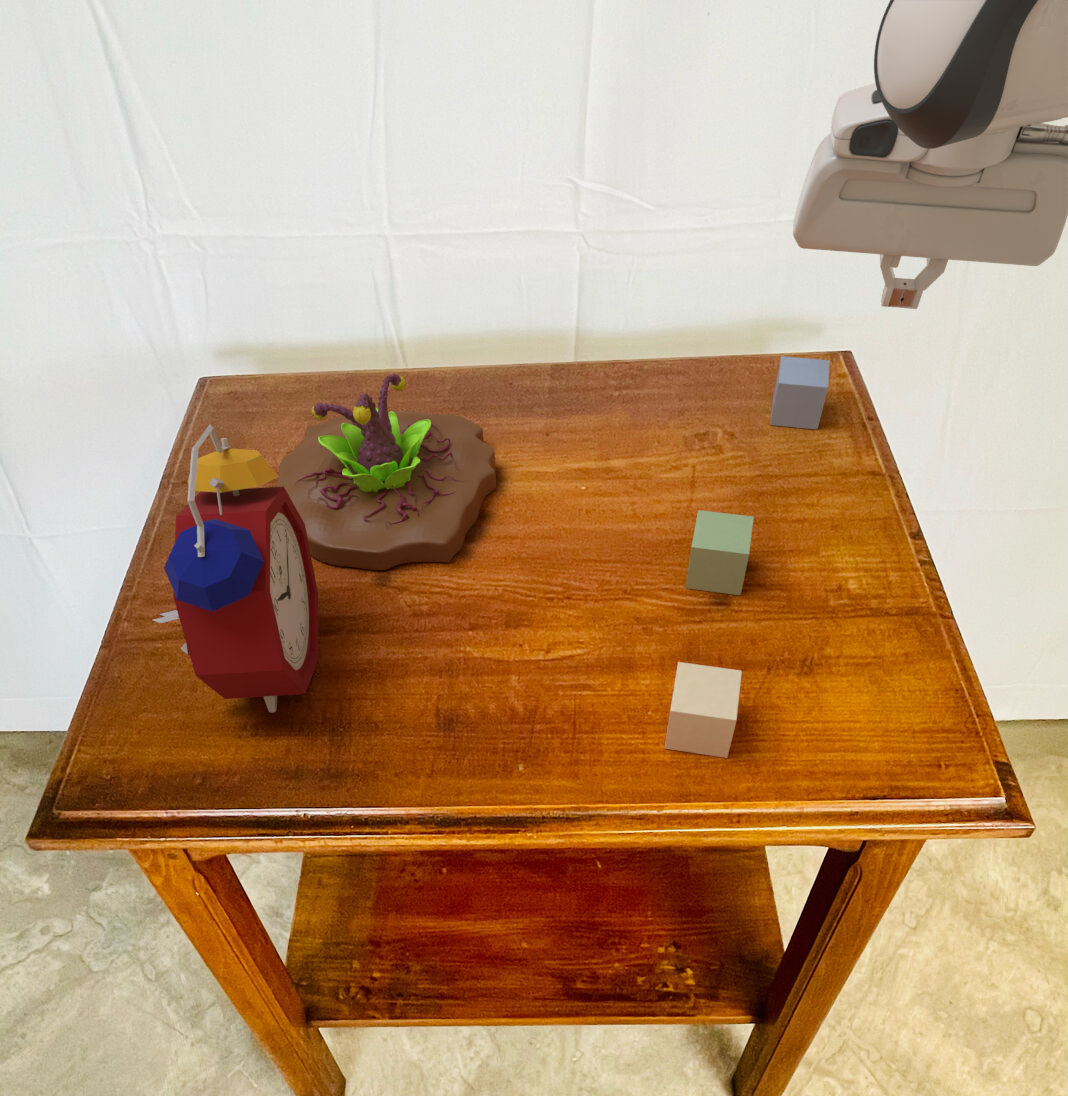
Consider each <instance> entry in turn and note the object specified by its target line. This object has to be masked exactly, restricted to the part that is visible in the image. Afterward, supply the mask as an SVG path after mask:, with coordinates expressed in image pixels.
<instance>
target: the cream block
mask: <svg viewBox="0 0 1068 1096" xmlns="http://www.w3.org/2000/svg"><path fill="white" fill-rule="evenodd" d="M742 675H743V671H742V670H740V669H733V668H725V667H718V666H711V665H703V664H697V663H690V662H682V661H678V662H677V666H676V671H675V678H674V683H673V689H672V690H673V691H672V697H671V702H670V709H669V716H668V722H667V730H666V735H665V736H666V737H665V741H664V742H665V743H664V749H666V750H672V751H678V752H684V753H690V754H697V755H705V756H711V757H717V758H722V759H723V758H724V759H728V757H729V754H730V753H729V752H730V750H731V745H732V741H733V737H734V734H735V729H736V725H737V721H738V712H739V703H740V694H741V684H742Z"/></svg>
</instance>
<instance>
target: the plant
mask: <svg viewBox="0 0 1068 1096" xmlns="http://www.w3.org/2000/svg"><path fill="white" fill-rule="evenodd" d="M382 382H383V383H382V384H381V389H380V390H379V393H380V394H379V396H378V403H377V406H376V403H375V402H374V401H373V397H372V396H369V394H368V393H367V392H365V393H362V394H360V396H359V397H358V398H357V400H356V403H354V404H355V405H354V406H353V410H351V409H349V408H347V407H346V406H342V405H340V404H338V405H337V404H334V403H330V404H329V403H322V402H317V403H315V404H314V405H313V406H312V407H311V415H312V416H313V417H314V419H316V420H317V421H323V420H325V419H326V418H327V416H328V412H334V413H336V414H338V415H341V416H338V417H333V418H331V419H328V420H326V421H324V422H322V423H318V424H316V425H315V424H314V425H312V426H308V427H307V428H305V430H304V439H303V440H302V442H301V443H300V444H299V445H298V446H296V448H294V449H292V451H290V452H288V453H286V454H285V455H284V456H283V457H282V458H281V461H280V463H279V470H278V476H279V477H277V482H276V486H275V487H282V486H284V488H285V489H286V491H287V493H288V495H289V497H290V498H291V500H292V502H293V504H294V506H295V507H296V509H297V511H298V513H299V515H300V516H301V518H302V520H303V522H304V524H305V528H306V533H307V538H308V544H309V549H310V554H311V557H312V558H313V559H315V560H317V561H319V562H323V563H325V564H329V565H331V566H335V567H336V566H337V567H343V568H344V567H345V568H357V569H361V570H371V571H385V570H389V569H391V568H395V567H396V566H400V565H403V564H409V563H446V564H449V563H450V562H451V560H452V559H453V557H454V556H455V555H456V554H458V552H460V551H461V550H462V547H463V546H464V541H465V539H466V536H467V533H468V532H469V530H470V529H472V527H473V526H474V525H475V524H476V522H477V520H478V517H479V515H480V510H481V507H482V503H483V501H484V499H485V498H486V497H487V496H489V494H490V493H492V492H494V491H495V490H497V478H496V477H497V476H496V475H497V474H496V454H495V453H496V452H495V449H494V447H492V446H491V445H489V444H488V443H486V442H484V441H485V440H484V430H483V428H482V427H481V426H480V425H478V424H477V423H475V422H474V421H472V420H470V419H468V418H466V417H463V416H460V415H456V414H445V413H429V412H428V413H427V412H420V411H419V412H418V411H409V410H388V408H389V407H388V395H389V394H388V392H389V386H390V385H391V388H392V389H393V390H395V391H397V392H402V391H404V390H405V389H406V386H407V382H406V379H405V378H404V376H400V374H398V373H393V374H389V375H386V377H384V379H383V380H382ZM377 407H378V408H377Z"/></svg>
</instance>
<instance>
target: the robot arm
mask: <svg viewBox="0 0 1068 1096" xmlns="http://www.w3.org/2000/svg"><path fill="white" fill-rule="evenodd" d="M873 73H874V75H873V76H874V82H875V83H871V84H868V85H865V86H861V87H857V88H854V89H849V90H847V91H845V92H844V93H842V94H841V95H840V96H839V97H838V99H837V100H836V103H835V106H834V109H833V112H832V116H831V123H830V124H831V126H830V133H829V134H828V135H826V136H825V137H824V138H823V139H822V140H821V142H820V143H819V144H818V146H817V148H815V149H816V150H815V151H814V154H813V156H812V157H811V160H810V163H809V166H808V168H807V172H806V174H805V177H804V180H803V183H802V186H801V190H800V193H799V196H798V201H797V205H796V207H795V208H796V209H795V214H794V219H793V223H792V224H793V225H792V235H793V238H794V240H795V243H796V244H797V246H798V247H799V248H800V249H804V250H805V249H806V250H816V251H817V250H819V251H832V252H844V253H857V254H869V255H872V254H873V255H879V267H880V271H881V274H882V278H883V281H884V287H883V290H882V294H881V299H880V301H881V304H880V305H881V307H884V308H885V307H886V308H899V309H908V310H917V309H918V308H919V304H920V302H921V299H922V296H923V293H924V291H926V290H927V289H928V288H929V287H930V286H932V284H933V283H934V282H936V280H937V279H939V277H941V276H942V275H943V274H944V273H945V270H946V267H947V265H948V262H949V261H962V262H975V263H988V264H999V265H1013V266H1029V267H1038V266H1041V265H1042V264H1043V263H1044V262H1046V261H1047V260H1048V259H1050V258H1051V257H1053V255H1054V254H1055V252H1056V250H1057V247H1058V246H1059V243H1060V240H1061V237H1062V235H1063V232H1064V229H1065V226H1066V222H1067V220H1068V124H1065V125H1064V126H1063V125H1053V124H1048V123H1049V122H1055V121H1059V120H1062V119H1066V118H1068V0H889V2H888V4H887V6H886V9H885V11H884V13H883V15H882V18H881V22H880V24H879V28H878V32H877V36H876V40H875V45H874V56H873ZM902 257H909V258H923V259H926V265H925V267H924V268H923V269H921V271H920V272H919V273H918V274H917V275H916V276H915V278H902V277H896V274H895V271H894V269H897V268H898V267H899V264H900V261H901V258H902Z"/></svg>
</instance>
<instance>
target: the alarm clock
mask: <svg viewBox="0 0 1068 1096" xmlns="http://www.w3.org/2000/svg"><path fill="white" fill-rule="evenodd" d="M208 436H209V437H210V440H211V442H212V444H213V446H214V449H215V451H213V452H210V453H207V454H205V455H203V456H200V457H199V449H200V447H201V446H202V444H203V443H204V442H205V440H207V438H208ZM220 442H221V443H220ZM189 463H190V464H189V476H188V478H187V482H186V483H187V485H188V488H187V501H186V502H187V504H186V506H184V507H183V508H182V509H181V510H180V511H179V512H178V513H177V515H175V531H174V532H173V533H172V534H173V535H174V544H173V547H172V549H171V551H170V553H169V555H168V557H167V560H166V562H165V564H164V565H163V569H164V571H165V574H166V576H167V579H168V581H169V583H170V586H171V588H172V590H173V591H172V592H173V594H172V597H173V600H174V604H175V608H176V609H174V610H171V611H167V612H162V613H159V614H158V615H159V616H161V617H158V618H154V619H152V621H153V622H156V623H159V624H163V623H167V622H170V621H175V620H179V622H180V626H181V629H182V633H183V637H184V639H185V643H184V644H183V645H182V646H181V648H180V650H181V651H183V652H184V653H185V654H186V655H187V656H189V658H190V660H191V661H190V662H191V664H192V668H193V671H194V675H195V676H196V677H197V678H198V679H199V680H201V681H202V682H203V683H204V684H206V685H207V686H208V687H209V688H210V689H212V690H213V691H214V692H215V693H217V694H218V695H219V696H220V697H221V698H223V699H224V700H229V699H247V698H263V700H264V703H265V705H266V708H267V711H268V713H271V714H272V713H275V712H277V711H278V696H279V697H280V696H282V697H283V696H295V695H297V696H298V695H306V693H307V690H308V688H309V685H310V682H311V680H312V677H313V675H314V672H315V670H316V667H317V665H318V662H319V592H318V586H317V580H316V576H315V571H314V567H313V560H312V556H311V554H310V549H309V544H308V538H307V533H306V528H305V524H304V522H303V520H302V518H301V516H300V515H299V513H298V511H297V509H296V507H295V506H294V504H293V502H292V500H291V498H290V497H289V495H288V493H287V491H286V489H285V488H284V486H282V487H276V486H270V487H269V486H267V487H266V486H265V487H261V486H263V485H265V484H267V483H269V482H271V481H273V480H275V479H278V477H279V474H278V473H277V472H276V471H275V470H274V468H272V467H271V465H270V464H269V462H268V461H267V460H266V459H265V457H263V456H262V455H261V453H260V452H259V451H258V450H257V449H247V448H246V449H245V448H232V447H231V445H229V441H228V438H227V437H222V438H220V440H219V438H218V435H217V432H216V430H215V428H214V426H213V425H211V423H210V424H208V426H207V427H206V429H205V430H203V433H202V434H201V435H200V436H199V438H198V439H197V441H196V442H195V443H194V445H193V446H192V448H191V453H190V462H189ZM196 492H198V493H197V494H196Z"/></svg>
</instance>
